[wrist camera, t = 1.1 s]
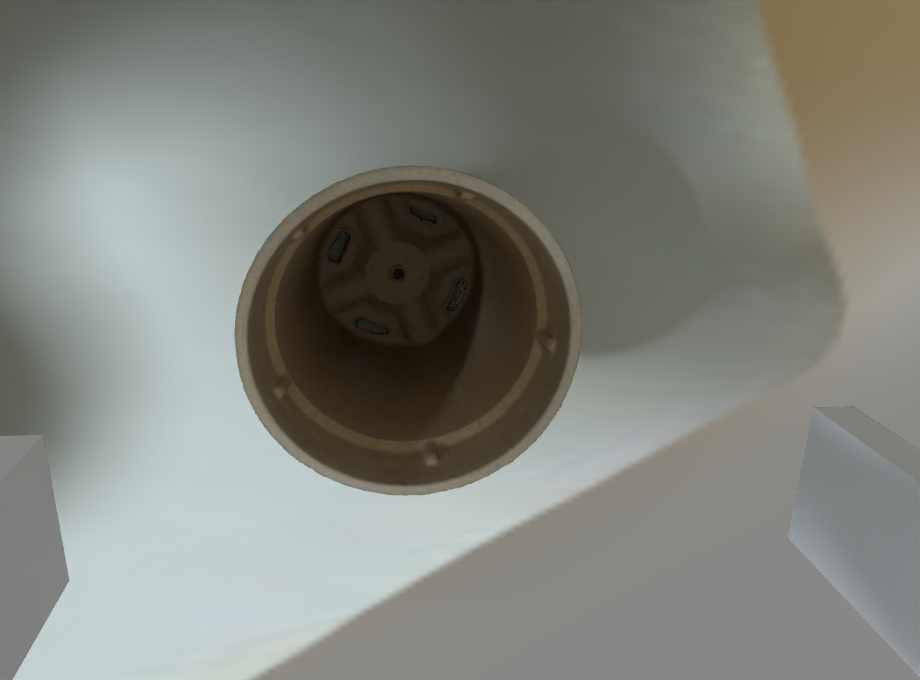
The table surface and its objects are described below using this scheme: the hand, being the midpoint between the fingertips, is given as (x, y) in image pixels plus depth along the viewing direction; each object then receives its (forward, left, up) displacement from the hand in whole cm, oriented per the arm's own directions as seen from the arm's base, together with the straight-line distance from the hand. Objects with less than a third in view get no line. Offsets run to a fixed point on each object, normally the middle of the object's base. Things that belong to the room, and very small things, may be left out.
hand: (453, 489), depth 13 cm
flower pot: (0, 0, -16) cm, 17 cm away
